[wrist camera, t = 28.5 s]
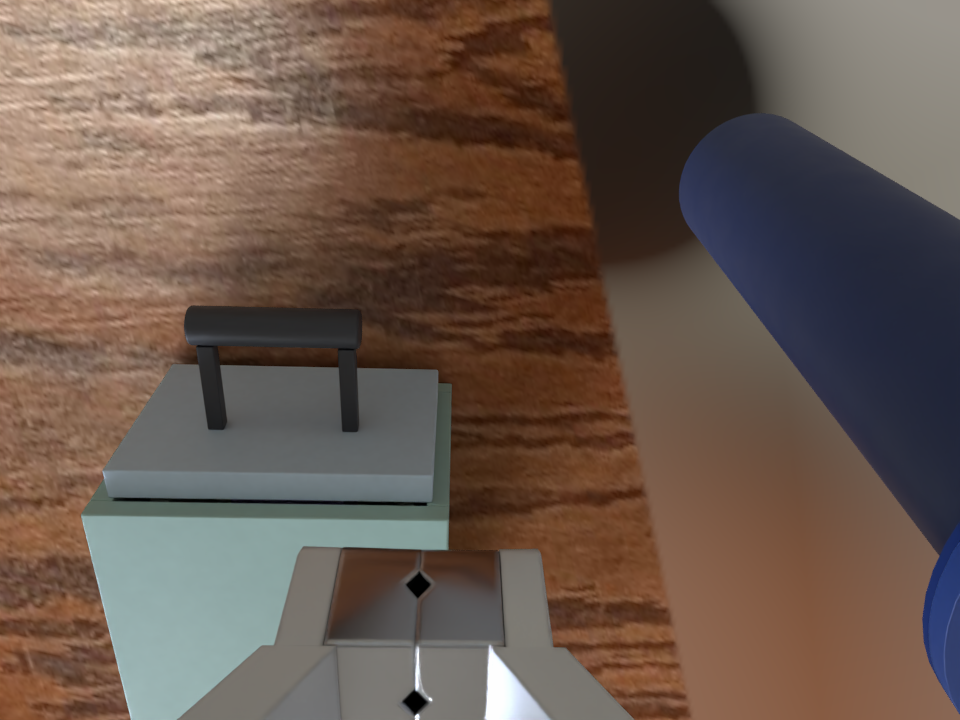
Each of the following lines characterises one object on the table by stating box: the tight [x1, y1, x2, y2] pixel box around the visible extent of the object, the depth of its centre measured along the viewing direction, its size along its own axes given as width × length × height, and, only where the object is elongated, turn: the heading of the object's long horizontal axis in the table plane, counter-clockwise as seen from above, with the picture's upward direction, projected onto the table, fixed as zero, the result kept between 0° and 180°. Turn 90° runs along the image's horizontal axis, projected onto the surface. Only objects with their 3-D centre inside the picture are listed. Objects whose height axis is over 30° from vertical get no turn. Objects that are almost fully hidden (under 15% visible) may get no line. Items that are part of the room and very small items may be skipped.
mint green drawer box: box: [81, 383, 452, 720], centre depth 36 cm, size 15×13×10 cm
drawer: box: [103, 306, 438, 506], centre depth 34 cm, size 18×11×8 cm, turn 178°
